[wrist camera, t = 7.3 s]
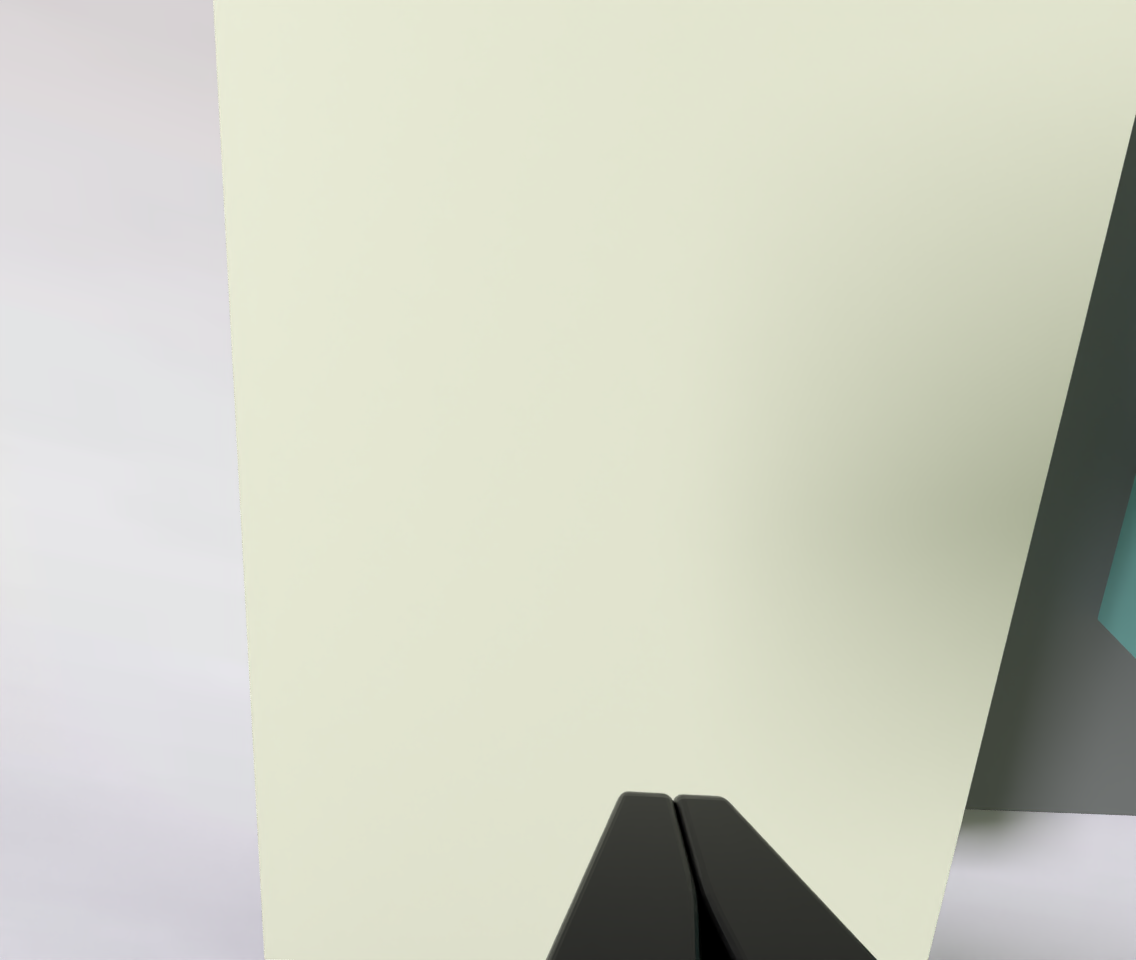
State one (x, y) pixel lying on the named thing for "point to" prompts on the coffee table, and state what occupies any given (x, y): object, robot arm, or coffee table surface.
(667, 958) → the robot arm
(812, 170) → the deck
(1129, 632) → the block
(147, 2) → the coffee table surface
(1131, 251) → the mat
